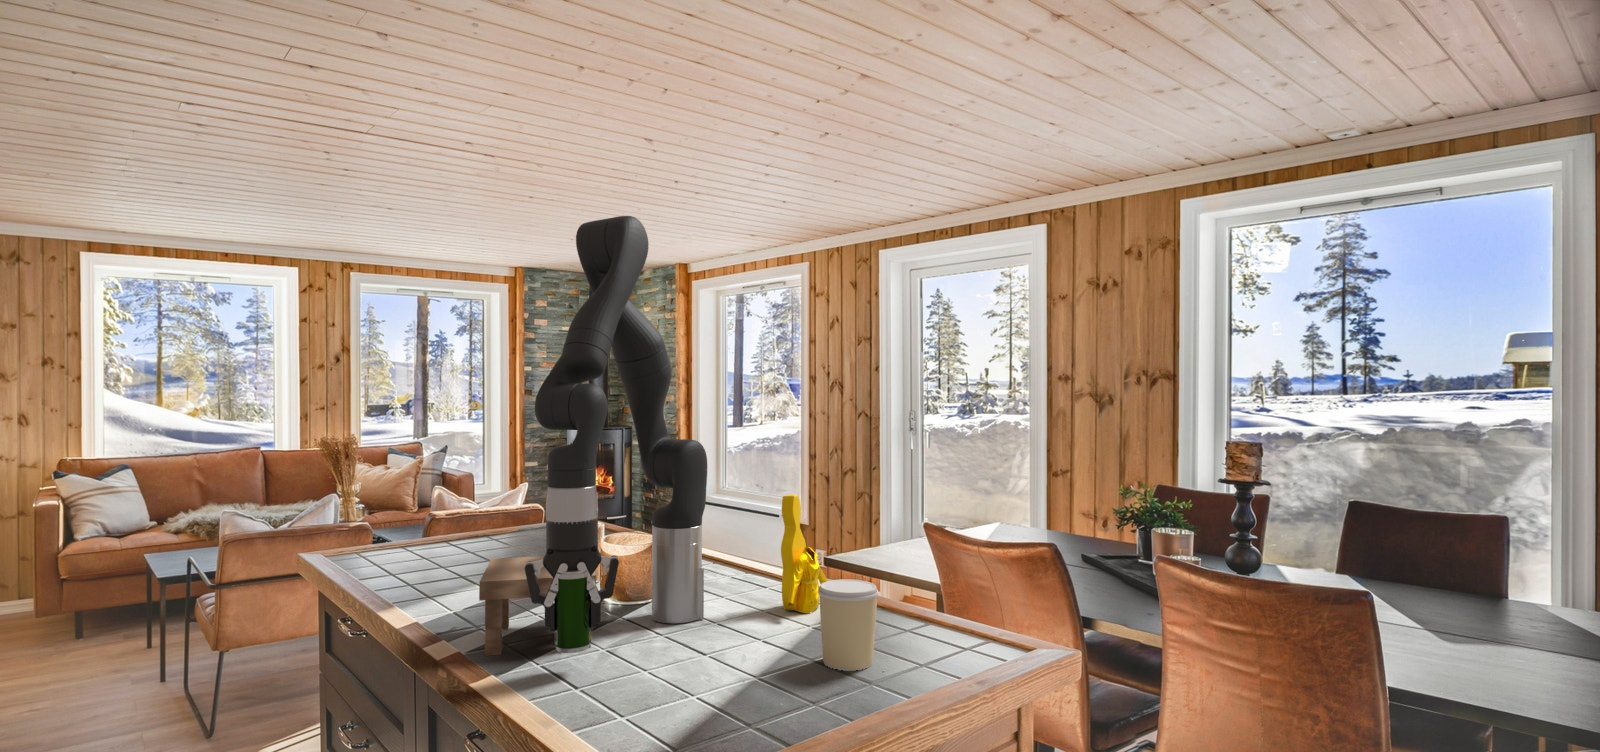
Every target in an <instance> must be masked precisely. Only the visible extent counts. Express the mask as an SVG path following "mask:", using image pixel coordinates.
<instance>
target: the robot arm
mask: <svg viewBox="0 0 1600 752" xmlns="http://www.w3.org/2000/svg"><path fill="white" fill-rule="evenodd" d="M575 244H576V251H577V255H578V259H579V262H580V265H581V267H582V269H583V273H584V275H585V277H586V280H587V282H588V285H589V287H590V290H591V292H592V294H591V295H590V296H589V297H588V299H586V301H585V302H584V303H583V304H582V305H581V307H580V308H579V309H578V311H577V312H576V314H574V317H573V318H572V321H571V323H570V325H569V327H568V331H567V334H566V338H565V340H564V345H563V348H562V352H561V355H560V356H559V358H558V359H557V361H556V362H555V363H554V366H553V367H552V369H551V370H550V372H549V373H548V375H547V376H546V378H545V379H544V381H543V382H542V384H541V385H540V387H539V388H538V392H537V393H536V396H535V401H534V414H535V418H536V421H537V422H538V423H539V424H540V425H539V426H541V427H543V428H544V429H547V430H552V431H553V430H554V431H560V430H561V431H576V435H575V437H574V438H573V441H572V442H571V443H570V444H565V445H561V446H556V447H554V448H552V449H550V451H549V452H548V455H547V491H546V500H545V501H546V502H545V512H544V513H545V514H544V515H545V531H546V532H545V542H546V543H545V544H546V545H545V550H546V553H545V555H543V556H544V558H543V559H542V560H538V561H534V562H532V561H528V562H527V563H526V565H525V573H526V578H527V582H528V587H529V591H530V596H531V598H530V600H531V602H532V604H534V605H535V604H536V605H537V604H538V605H541V606H543V607H544V626H545V628H546V629H549V632H550V633H552V632H554V631H555V611H554V599H555V597H556V593H557V592H558V578H559V577H560V575H561V574H562V572H566V571H567V570H579V571H582V570H583V572H582V573H585V574H586V576H587V590H588V591H589V594H590V596H591V629H594V628H596V627H597V624H600V622H601V618H602V617H601V616H602V613H601V612H602V610H601V605H602V602H603V601H604V600H607V599H610V598H612V597H613V594H614V589H615V583H616V579H617V574H618V570H619V564H620V561H619V557H618V556H617V555H612V556H605V555H602V554H601V552H600V551H599V506H598V505H599V503H598V502H599V501H598V493H597V485H596V484H597V454H598V450H599V445H600V440H601V438H602V433H603V429H604V426H605V422H606V420H607V415H608V411H609V409H608V408H609V407H608V406H609V404H608V403H609V402H608V399H607V395H606V393H605V392H604V390H603V389H602V387H600V385H598V384H595V383H587V382H588V381H593V380H596V379H598V378H601V376H603V374H604V373H605V371H606V370H607V369H606V368H607V365H608V360H609V357H610V354H611V350H612V354H613V358H614V361H615V365H616V368H617V371H618V374H619V378H620V380H621V383H622V385H623V389H624V392H625V395H626V399H627V403H628V405H629V407H628V408H629V410H630V415H631V417H632V421H633V426H634V430H635V434H636V439H637V445H638V450H639V451H638V452H639V455H640V461H641V466H642V469H643V471H644V475H645V476H646V478H647V480H648V482H650V484H651V485H653V486H655V487H659V488H666V489H672V495H671V500H670V502H669V503H667V504H665V505H663V506H660V507H658V508H655V509H654V510H653V512H652V515H651V517H652V518H651V519H652V520H651V521H652V522H651V523H652V525H651V526H652V527H651V530H652V531H651V532H652V534H651V535H652V536H651V539H652V540H651V541H652V543H651V545H652V547H651V548H652V549H651V558H652V559H651V619H652V620H653V621H655V622H658V623H662V624H686V623H690V622H694V621H698V620H704V614H705V613H704V604H705V603H704V602H705V601H704V599H705V595H704V593H705V591H704V590H705V587H704V585H705V584H704V583H705V576H704V575H705V574H704V572H705V569H704V566H703V565H702V564H703V515H704V512H705V508H706V504H707V503H706V500H707V485H708V483H707V481H708V457H707V452H706V449H705V446H704V445H703V444H702V443H701V442H699V441H698V440H695V439H685V438H683V439H681V438H671V436H670V434H669V432H668V429H667V424H666V421H665V420H666V419H665V415H664V407H665V401H666V399H667V396H668V392H669V389H670V385H671V380H672V372H673V371H672V366H671V362H670V358H669V355H668V350H667V347H666V344H665V340H664V337H663V336H662V334H661V332H660V331H659V330H658V329H657V327H656V325H654V324H653V323H652V322H651V321H650V320H649V319H648V317H646V316H645V315H644V313H642V312H641V311H640V310H639V309H638V308H637V306H635V304H633V302H632V301H631V300H630V297H631V294H632V293H633V291H634V289H635V286H636V284H637V282H638V280H639V277H640V275H641V273H642V271H643V269H644V267H645V264H646V261H647V258H648V253H649V237H648V233H647V230H646V227H644V224H643V223H642V222H641V220H639V219H638V217H634V216H633V215H621V216H614V217H609V218H604V219H603V218H602V219H597V220H592V221H587V222H584V223H582V224H580V225H579V226H578V229H577V231H576V233H575ZM585 382H586V383H585ZM600 564H602V565H603V570H604V571H606V573H607V574H606V578H605V583H604V588H602V589H599V588H598V586H597V583H596V584H595V581H594V579H593V576H592V574H593V573H594V571H595V570H597V569H598V566H599V565H600ZM542 567H545V568H546V570H547V571H548V572H549V573H550V575H551V576H552V577H553V579H552V581H551V584H550V587H549V589H548V591H547V594H542V593H540V590H539V585H538V580H537V576H538V575H540V572H541V568H542ZM588 581H589V583H588ZM556 584H557V585H556Z"/></svg>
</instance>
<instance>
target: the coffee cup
mask: <svg viewBox="0 0 1600 752" xmlns="http://www.w3.org/2000/svg"><path fill="white" fill-rule="evenodd" d="M818 593H819V614H820V615H819V617H820V631H821V632H820V633H821V645H822V646H821V649H822V658H823V664H824V665H825V666H826V667H827V666H828V668H829V667H830V669H832V668H833V669H832V670H835V669H838V670H837V671H841V670H843V671H844V672H855V671H856V670H858V671H862V669H863V670H866V669H865V668H867V669H869V668H870V667H871V666H873V662H874V661H873V660H874V651H875V634H876V620H877V607H878V605H877V603H878V596H879V590H878V588H877V585H876V584H875V583H873V582H870V581H866V580H861V579H852V578H851V579H850V578H849V579H846V578H845V579H832V580H827V582H824V583H822V584H820V586H819V590H818ZM868 667H869V668H868ZM856 672H857V671H856Z"/></svg>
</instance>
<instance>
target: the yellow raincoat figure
mask: <svg viewBox="0 0 1600 752" xmlns="http://www.w3.org/2000/svg"><path fill="white" fill-rule="evenodd" d="M801 513H802V506H801V501H800V497H799V494H786V495H782V501H781V516H782V519H783V521H782V522H783V525H784V531H783V532H784V533H783V536H782V540H781V545H780V555H781V562H782V576H781V577H782V579H781V598H782V605H783V606H782V607H783V610H785V611H796V612H799V613H803V614H811V613H810V612H812V613H813V612H815V611H816V610H817V608H819V607H820V597H819V593H818V590H819V588H820V586H819V583H820V585H821V584H822V583H824V582H827V581H828V579H827V577H826V575H825V574H824V571H823V570H822V569H821V566H820V564H819V561H818V558H819V555H818V554H817V553H816V552H815V551H814V550H813V548H811V547H810V546H807V544H806V539H805V537H804V535H803V532H802V529H801V525H800V524H801V517H802V515H801ZM814 610H815V611H814Z"/></svg>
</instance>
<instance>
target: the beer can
mask: <svg viewBox="0 0 1600 752" xmlns="http://www.w3.org/2000/svg"><path fill="white" fill-rule="evenodd" d="M582 572H583V570H582V571H579V570H567V571H566V572H562V574H561V575H560V577H559V578H558V592H557V593H556V597H555V599H554V601H553V603H554V611H555V631H553V633H554V638H553V639H554V641H553V642H554V646H555V649H556V651H557V652H559V653H562V654H575V653H580V652H584V651H587V650H588V649H589V646H590V644H592V639H593V638H592V628H591V600H592V598H591V596H590V594H589V591H588V590H587V576H586V574H585V573H582ZM588 583H589V581H588ZM556 585H557V584H556Z"/></svg>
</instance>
